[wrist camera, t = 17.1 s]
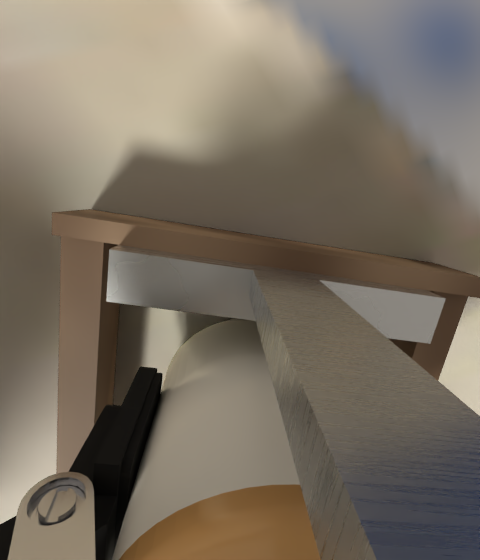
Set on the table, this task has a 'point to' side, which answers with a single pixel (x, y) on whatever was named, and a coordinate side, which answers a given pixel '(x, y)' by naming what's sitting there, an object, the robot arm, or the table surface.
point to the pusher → (342, 398)
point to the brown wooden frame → (211, 244)
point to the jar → (217, 461)
